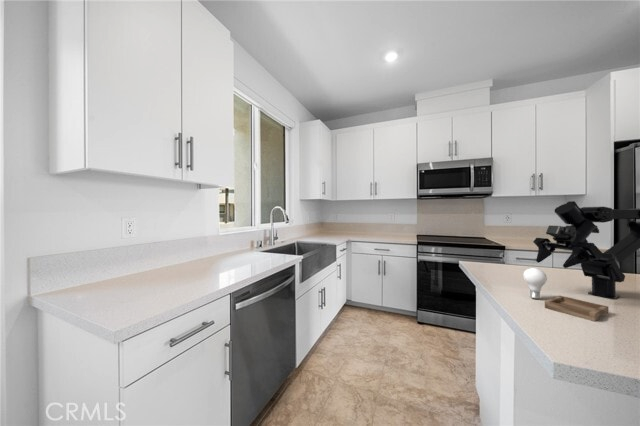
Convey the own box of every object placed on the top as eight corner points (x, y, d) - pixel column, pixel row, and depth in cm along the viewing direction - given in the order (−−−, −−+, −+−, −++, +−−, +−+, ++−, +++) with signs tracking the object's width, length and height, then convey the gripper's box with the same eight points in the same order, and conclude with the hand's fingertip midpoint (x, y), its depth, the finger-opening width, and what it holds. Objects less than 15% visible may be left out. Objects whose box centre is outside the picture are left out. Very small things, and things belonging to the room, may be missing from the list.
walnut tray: (559, 302, 83) (559, 295, 83) (608, 313, 73) (608, 306, 73) (544, 307, 78) (544, 301, 78) (594, 321, 68) (594, 313, 68)
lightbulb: (522, 294, 91) (522, 265, 91) (545, 297, 87) (545, 267, 87) (524, 299, 85) (524, 268, 85) (548, 303, 82) (548, 271, 82)
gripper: (537, 217, 97) (512, 245, 96) (594, 218, 78) (564, 253, 77) (555, 236, 97) (530, 264, 96) (615, 242, 79) (586, 276, 78)
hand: (549, 264), depth 87 cm, fingers open, 9 cm apart
